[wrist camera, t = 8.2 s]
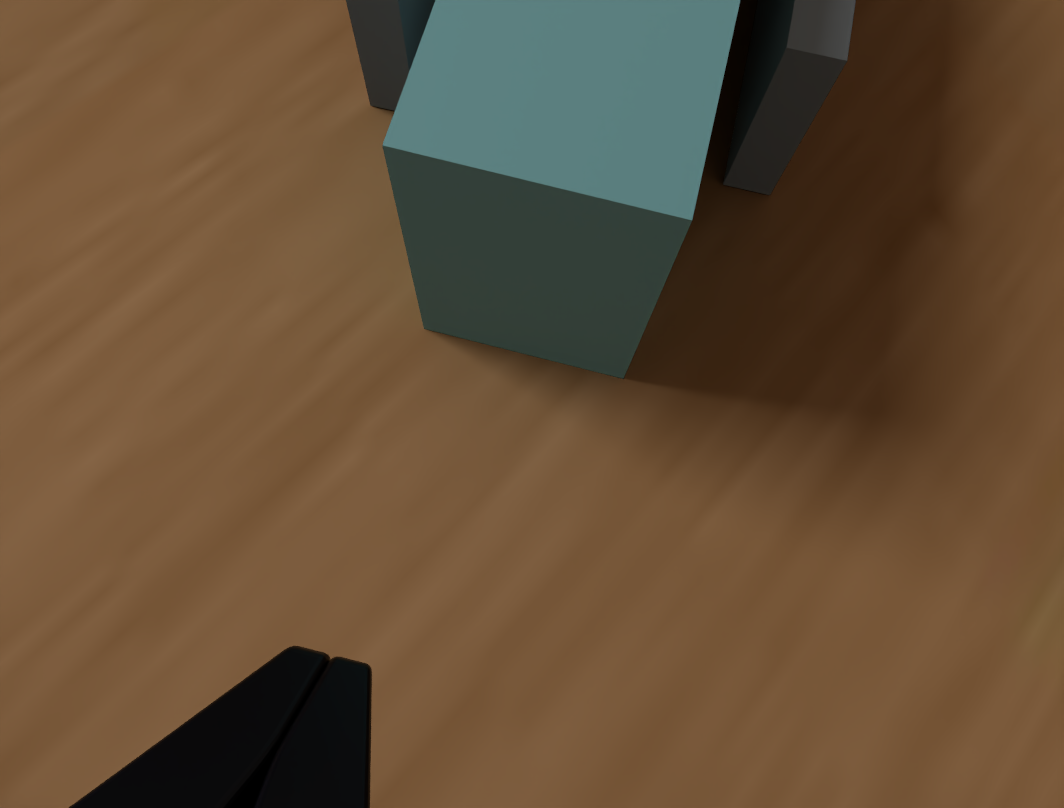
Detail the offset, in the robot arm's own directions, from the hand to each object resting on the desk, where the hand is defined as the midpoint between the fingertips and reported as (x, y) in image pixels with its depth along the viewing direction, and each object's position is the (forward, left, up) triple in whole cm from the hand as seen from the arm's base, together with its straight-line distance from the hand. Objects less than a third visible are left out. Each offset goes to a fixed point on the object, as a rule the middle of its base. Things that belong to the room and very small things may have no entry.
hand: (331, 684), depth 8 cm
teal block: (+17, 0, -14) cm, 22 cm away
